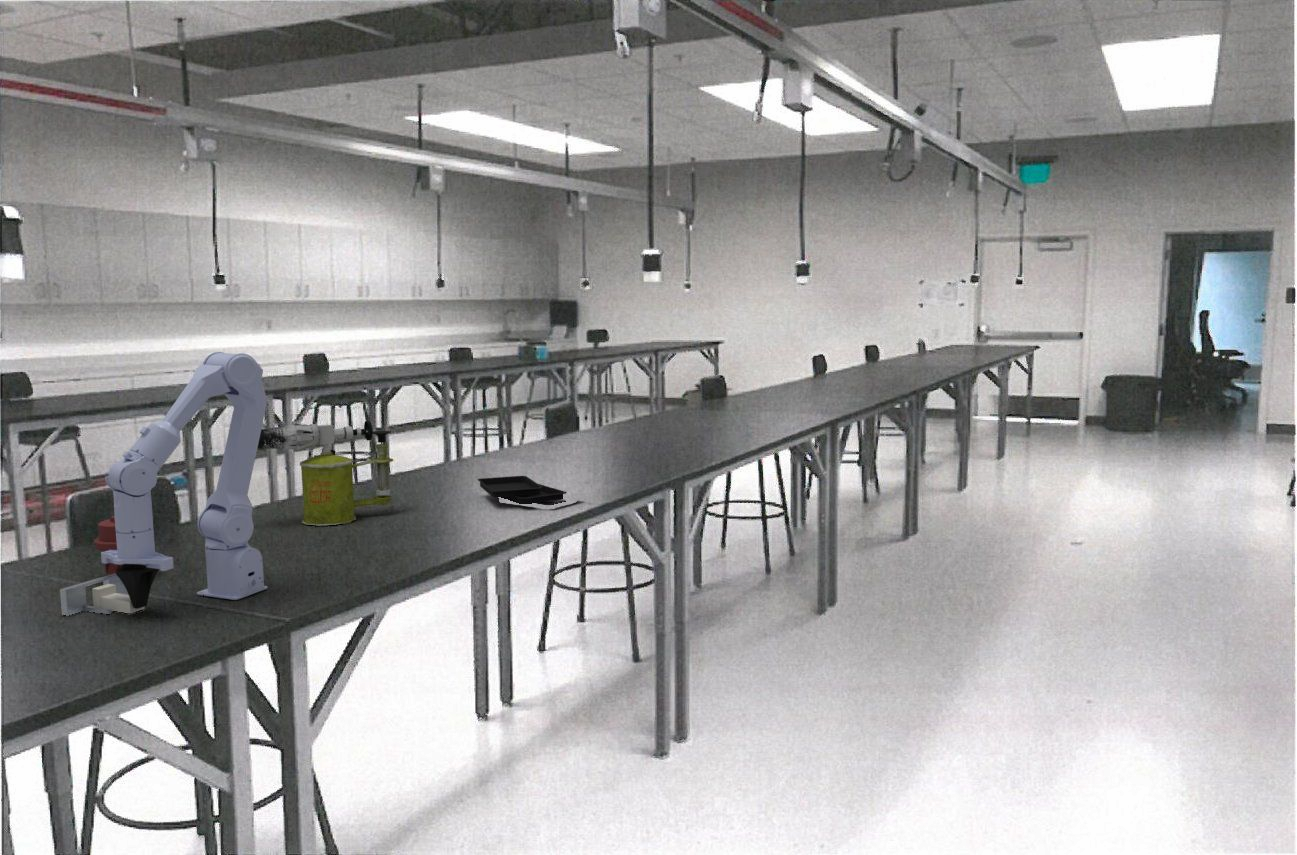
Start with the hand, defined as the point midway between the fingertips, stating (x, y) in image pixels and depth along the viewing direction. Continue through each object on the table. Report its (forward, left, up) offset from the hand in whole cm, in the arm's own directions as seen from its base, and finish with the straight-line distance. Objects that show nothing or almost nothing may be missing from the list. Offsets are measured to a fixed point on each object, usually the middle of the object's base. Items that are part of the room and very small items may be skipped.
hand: (140, 606), depth 169 cm
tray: (-15, -107, -2) cm, 108 cm away
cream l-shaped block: (+6, 0, -1) cm, 6 cm away
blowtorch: (+18, -70, -1) cm, 72 cm away
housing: (+8, 0, -1) cm, 8 cm away
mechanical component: (+21, -15, -1) cm, 26 cm away
